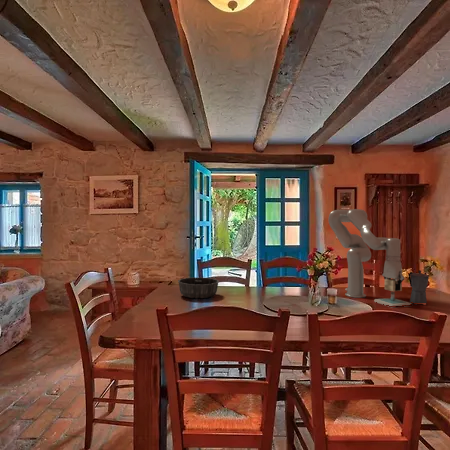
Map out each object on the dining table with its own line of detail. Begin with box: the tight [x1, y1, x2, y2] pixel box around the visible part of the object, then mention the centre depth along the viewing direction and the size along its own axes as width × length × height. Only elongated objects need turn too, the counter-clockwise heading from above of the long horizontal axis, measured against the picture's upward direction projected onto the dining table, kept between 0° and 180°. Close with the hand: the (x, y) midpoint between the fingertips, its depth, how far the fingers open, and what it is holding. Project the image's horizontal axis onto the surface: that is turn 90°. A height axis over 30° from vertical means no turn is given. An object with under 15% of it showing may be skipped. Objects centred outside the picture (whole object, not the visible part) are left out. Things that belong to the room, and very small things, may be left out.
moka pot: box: [408, 269, 430, 304], centre depth 200 cm, size 10×15×20 cm, turn 15°
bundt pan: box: [177, 276, 220, 299], centre depth 216 cm, size 26×26×10 cm
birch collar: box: [384, 278, 403, 292], centre depth 198 cm, size 6×6×6 cm
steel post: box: [390, 291, 396, 301], centre depth 198 cm, size 2×2×5 cm
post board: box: [374, 297, 413, 307], centre depth 198 cm, size 14×14×2 cm
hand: (393, 288), depth 198 cm, fingers closed on birch collar, 6 cm apart
